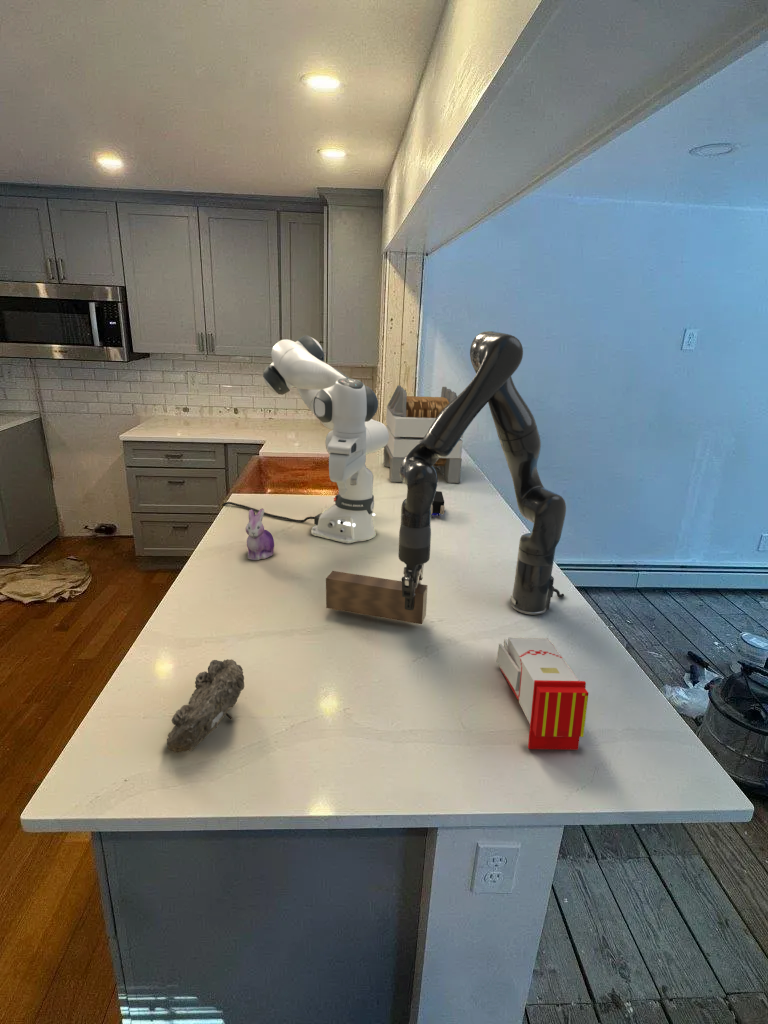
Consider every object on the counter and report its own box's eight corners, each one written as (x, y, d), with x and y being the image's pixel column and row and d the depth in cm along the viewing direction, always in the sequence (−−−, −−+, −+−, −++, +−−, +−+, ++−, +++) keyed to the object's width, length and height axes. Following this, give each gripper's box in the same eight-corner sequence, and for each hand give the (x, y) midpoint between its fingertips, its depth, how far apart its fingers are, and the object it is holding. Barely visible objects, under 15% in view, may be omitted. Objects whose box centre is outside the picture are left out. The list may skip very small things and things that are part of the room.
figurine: (249, 563, 172) (248, 517, 167) (241, 550, 180) (239, 506, 175) (280, 558, 176) (279, 513, 171) (270, 546, 184) (269, 502, 179)
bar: (326, 608, 145) (325, 578, 142) (332, 599, 149) (332, 570, 146) (421, 624, 139) (423, 593, 136) (425, 615, 143) (427, 585, 140)
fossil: (192, 660, 117) (244, 628, 112) (224, 691, 120) (276, 661, 115) (142, 746, 98) (202, 712, 93) (182, 779, 101) (242, 748, 96)
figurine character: (444, 523, 215) (440, 506, 228) (446, 505, 211) (442, 489, 225) (427, 523, 215) (424, 505, 228) (428, 505, 211) (425, 488, 225)
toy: (545, 621, 128) (598, 688, 99) (540, 675, 131) (589, 757, 102) (492, 620, 128) (529, 687, 98) (488, 674, 131) (522, 756, 101)
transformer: (382, 463, 289) (386, 382, 275) (445, 464, 293) (451, 384, 279) (390, 482, 257) (394, 392, 243) (460, 483, 261) (468, 394, 247)
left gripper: (351, 432, 163) (350, 478, 168) (324, 447, 145) (324, 498, 149) (371, 434, 162) (370, 480, 166) (348, 450, 143) (346, 501, 148)
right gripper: (423, 555, 127) (420, 621, 133) (436, 532, 140) (432, 593, 146) (391, 550, 129) (389, 615, 135) (406, 528, 142) (404, 588, 148)
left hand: (348, 489), depth 158 cm, fingers open, 8 cm apart
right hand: (411, 603), depth 140 cm, fingers closed on bar, 4 cm apart
